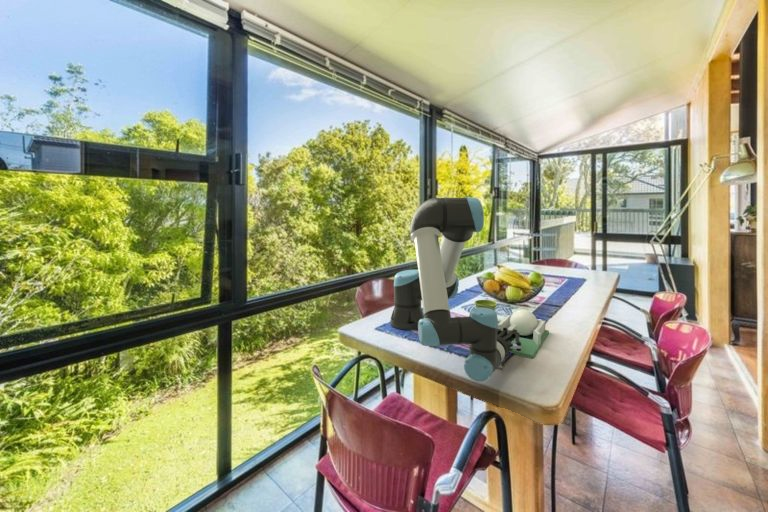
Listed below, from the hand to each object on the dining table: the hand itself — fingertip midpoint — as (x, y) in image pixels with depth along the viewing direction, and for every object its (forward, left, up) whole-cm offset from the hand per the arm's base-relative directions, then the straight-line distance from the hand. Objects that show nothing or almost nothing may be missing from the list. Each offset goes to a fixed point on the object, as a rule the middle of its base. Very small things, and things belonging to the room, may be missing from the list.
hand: (514, 328), depth 125 cm
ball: (0, +11, -1) cm, 11 cm away
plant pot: (-17, +18, -6) cm, 26 cm away
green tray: (0, +5, -6) cm, 8 cm away
